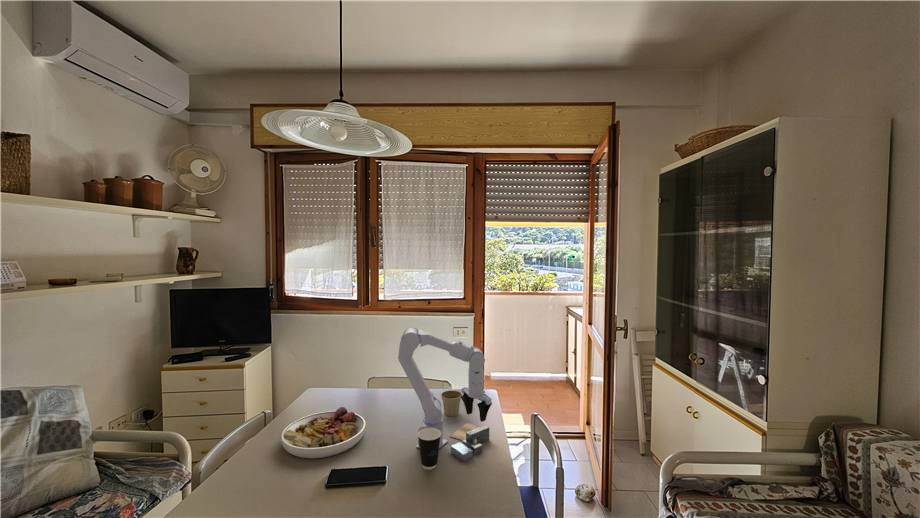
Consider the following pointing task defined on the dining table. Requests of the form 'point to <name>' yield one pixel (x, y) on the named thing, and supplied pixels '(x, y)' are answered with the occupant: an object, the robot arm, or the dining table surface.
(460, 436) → the plate
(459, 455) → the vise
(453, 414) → the flower pot
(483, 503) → the dining table surface
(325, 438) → the bowl
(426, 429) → the dixie cup
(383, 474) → the dining table surface
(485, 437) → the uneven u-shaped block
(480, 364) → the robot arm
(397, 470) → the dining table surface
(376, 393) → the dining table surface
